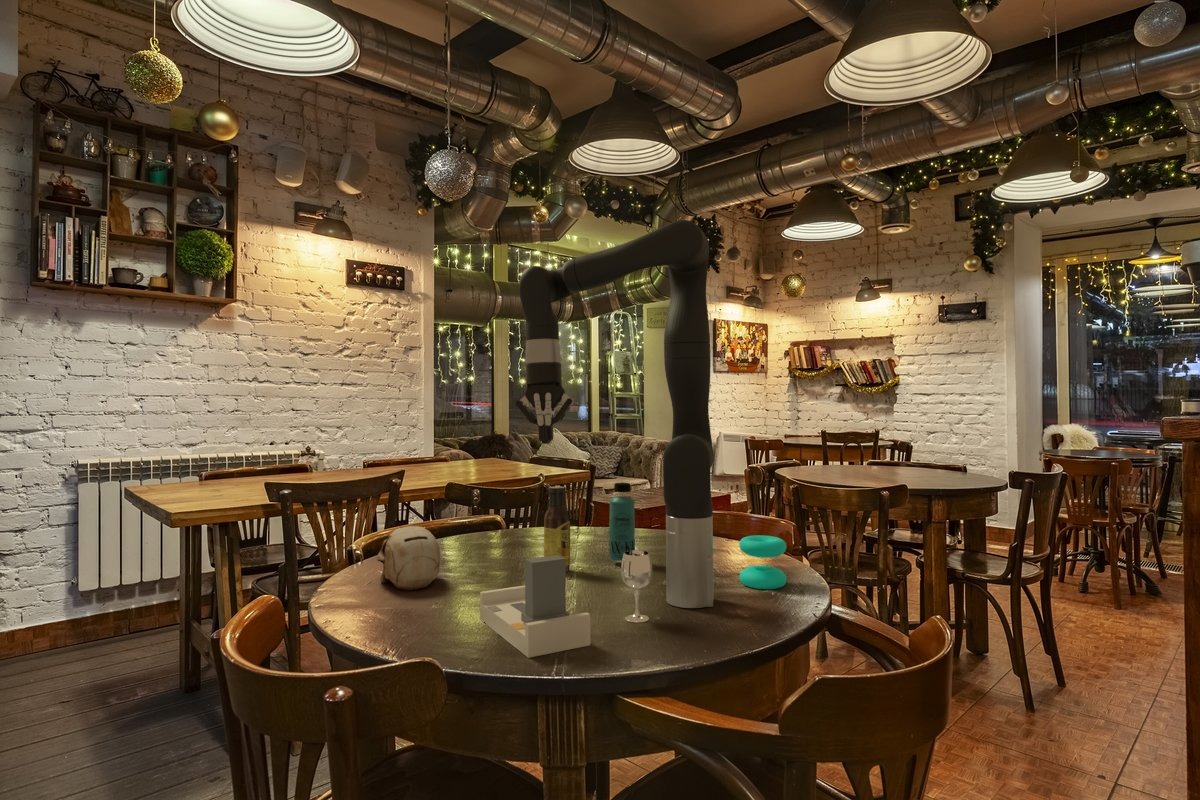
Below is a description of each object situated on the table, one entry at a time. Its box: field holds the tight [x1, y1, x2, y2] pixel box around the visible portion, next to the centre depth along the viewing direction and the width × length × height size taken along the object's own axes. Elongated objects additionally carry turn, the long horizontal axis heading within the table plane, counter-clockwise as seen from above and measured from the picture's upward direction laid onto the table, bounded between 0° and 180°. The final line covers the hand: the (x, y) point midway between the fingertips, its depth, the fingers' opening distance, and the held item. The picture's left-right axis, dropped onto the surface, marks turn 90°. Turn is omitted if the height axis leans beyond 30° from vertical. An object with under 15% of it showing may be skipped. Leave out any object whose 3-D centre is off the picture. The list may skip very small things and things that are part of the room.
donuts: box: [738, 534, 788, 590], centre depth 148 cm, size 10×10×10 cm
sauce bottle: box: [543, 486, 571, 573], centre depth 160 cm, size 6×6×20 cm
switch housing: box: [479, 584, 591, 659], centre depth 118 cm, size 22×11×5 cm, turn 30°
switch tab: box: [521, 555, 571, 623], centre depth 113 cm, size 4×7×10 cm, turn 120°
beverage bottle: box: [608, 482, 636, 562], centre depth 167 cm, size 6×7×20 cm
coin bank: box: [376, 525, 441, 591], centre depth 150 cm, size 16×17×13 cm
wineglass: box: [620, 549, 653, 623], centre depth 124 cm, size 6×6×12 cm
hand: (546, 443), depth 144 cm, fingers closed
